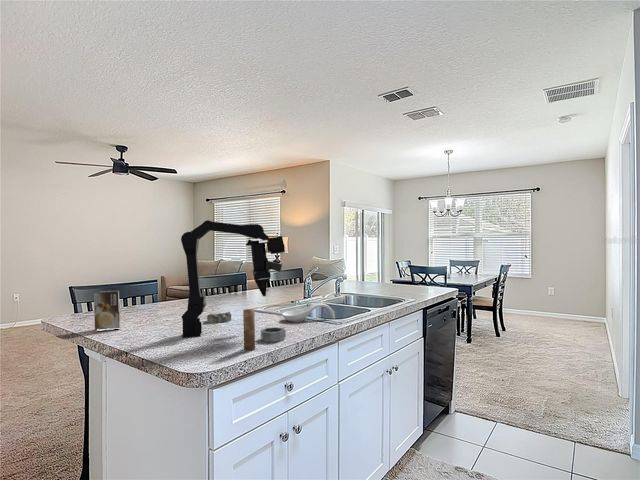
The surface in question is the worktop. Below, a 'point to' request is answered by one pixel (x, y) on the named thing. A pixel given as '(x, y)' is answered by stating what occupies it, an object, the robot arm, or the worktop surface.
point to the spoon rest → (305, 312)
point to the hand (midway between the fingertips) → (263, 294)
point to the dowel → (249, 329)
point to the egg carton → (219, 317)
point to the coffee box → (106, 309)
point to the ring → (273, 334)
